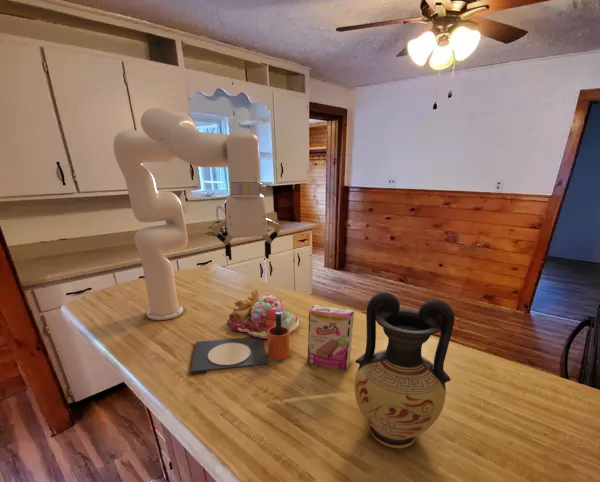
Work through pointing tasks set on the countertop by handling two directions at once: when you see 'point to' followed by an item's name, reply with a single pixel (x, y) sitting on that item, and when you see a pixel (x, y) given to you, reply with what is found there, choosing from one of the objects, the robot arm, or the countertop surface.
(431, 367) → the amphora
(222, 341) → the board
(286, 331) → the pen pot
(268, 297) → the candy landscape model
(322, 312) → the candy bar box
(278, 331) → the marker pen
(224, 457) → the countertop surface
